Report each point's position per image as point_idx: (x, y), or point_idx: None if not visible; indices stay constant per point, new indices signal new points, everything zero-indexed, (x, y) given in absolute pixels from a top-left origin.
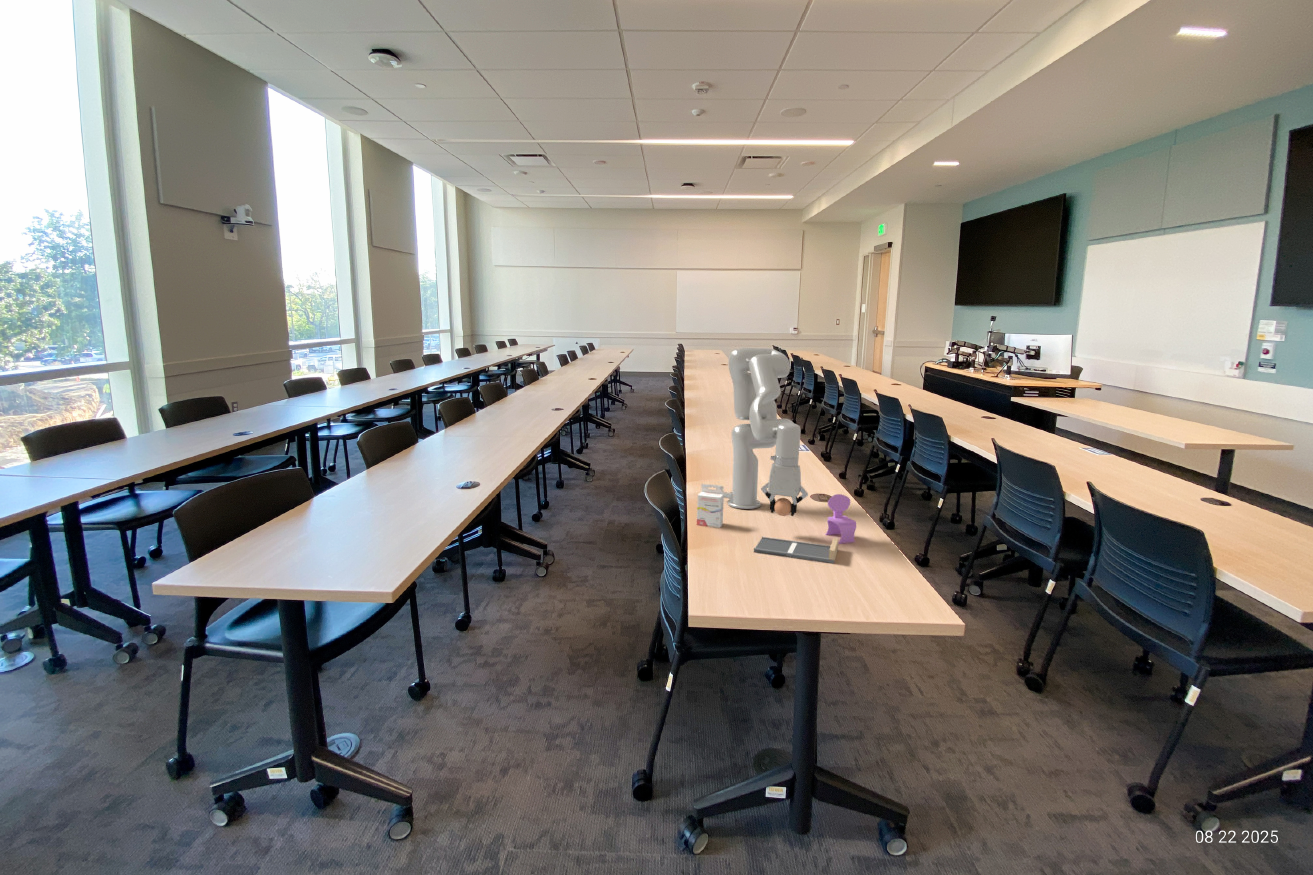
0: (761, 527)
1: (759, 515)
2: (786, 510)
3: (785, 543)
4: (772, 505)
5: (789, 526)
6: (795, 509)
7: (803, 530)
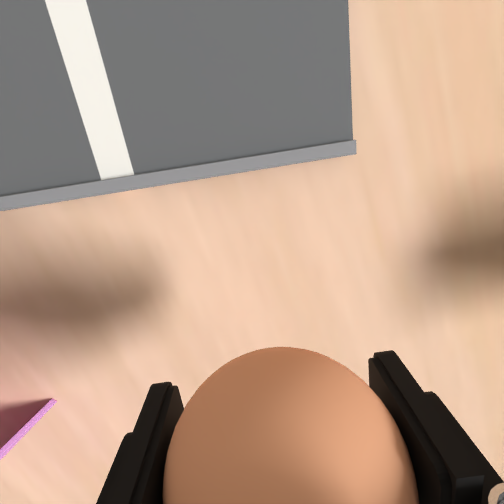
0: (402, 361)
1: None
2: (206, 393)
3: (166, 126)
4: (428, 420)
5: None
6: (115, 469)
7: None
